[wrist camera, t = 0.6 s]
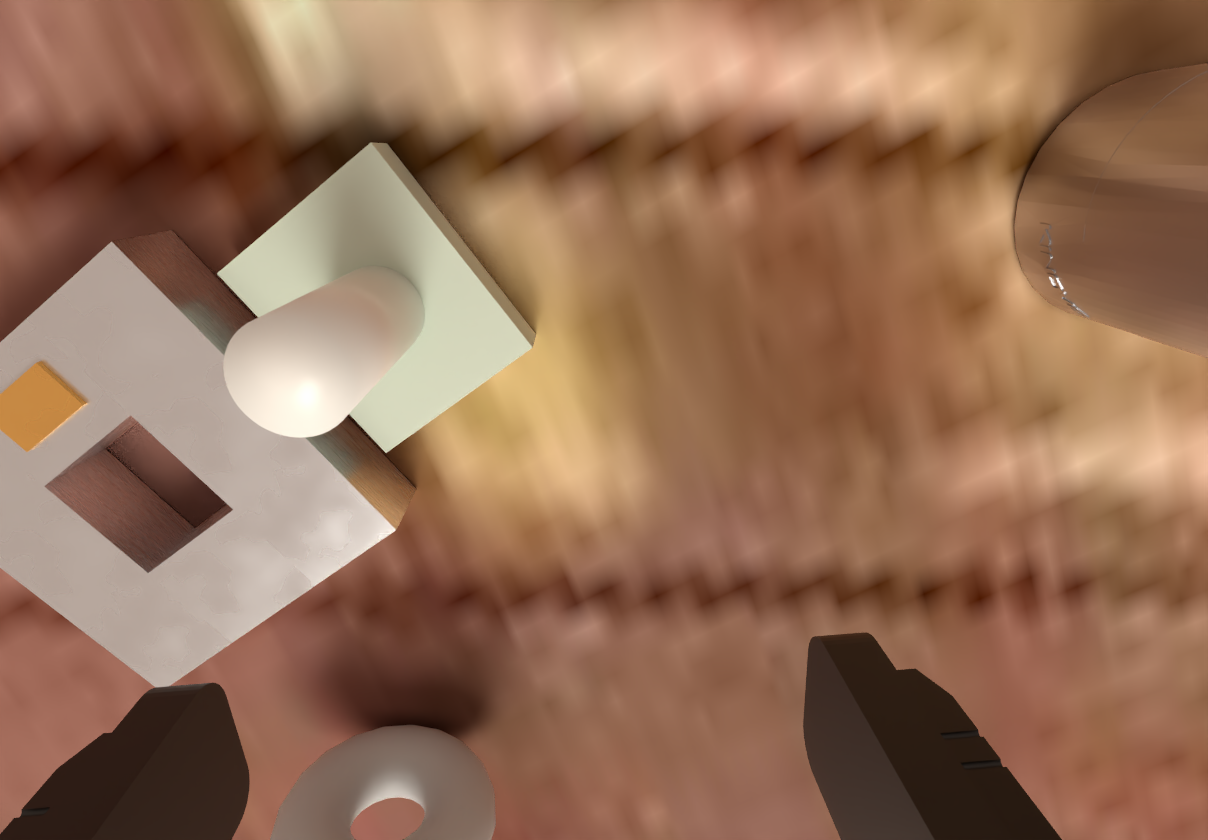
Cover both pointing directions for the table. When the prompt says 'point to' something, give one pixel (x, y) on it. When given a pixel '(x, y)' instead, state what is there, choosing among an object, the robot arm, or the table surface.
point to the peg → (322, 351)
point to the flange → (191, 433)
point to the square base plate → (410, 247)
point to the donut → (392, 786)
